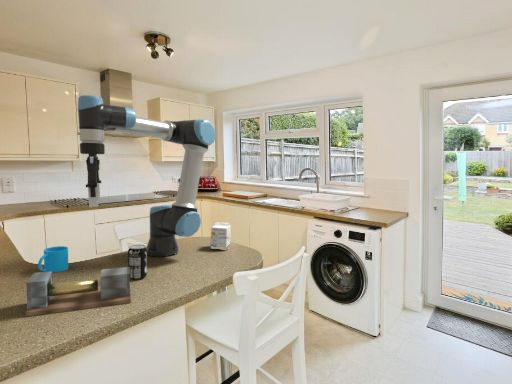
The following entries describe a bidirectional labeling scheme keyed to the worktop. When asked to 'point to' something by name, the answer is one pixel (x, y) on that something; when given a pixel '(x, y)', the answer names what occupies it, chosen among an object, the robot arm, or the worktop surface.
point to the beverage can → (137, 261)
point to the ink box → (220, 234)
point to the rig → (110, 293)
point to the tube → (72, 287)
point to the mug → (54, 259)
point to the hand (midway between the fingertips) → (94, 203)
